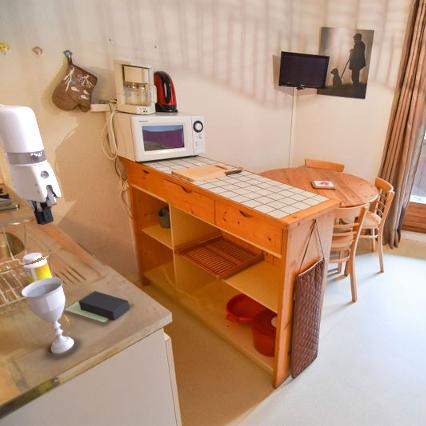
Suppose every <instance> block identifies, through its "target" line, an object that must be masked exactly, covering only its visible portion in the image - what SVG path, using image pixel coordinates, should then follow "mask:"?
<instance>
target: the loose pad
mask: <svg viewBox="0 0 426 426" xmlns="http://www.w3.org/2000/svg"><path fill="white" fill-rule="evenodd" d="M90 293H91V294H90ZM90 293H89V294H87V295H88V296H87V295H86V296H84V297H82V298H83V299H82V298H81V299H79V300H78V301H79V305H80V308H81V310H84V311H87V312H90V313H93V314H96V315H97V311H96V307H95V306H97V305H98V304H100V303H101V302H103V301H104V300H106V299H107V298H109V297H110V296H112V295H111V294H107V293H105V292H104V293H103V292H100V291H97V290H94V291H92V292H90Z"/></svg>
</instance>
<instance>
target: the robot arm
mask: <svg viewBox="0 0 426 426" xmlns="http://www.w3.org/2000/svg"><path fill="white" fill-rule="evenodd" d="M40 133H41V132H40V130H39V126H38V123H37V119H36V114H35V113H34V110H33V109H32V108H30V107H28V106H24V105H8V104H7V105H6V104H2V103H0V144H1V146H2V150H3V153H4V156H5V160H6V162H7V165H8V166H9V173H10V177H11V181H12V185H13V188H14V191H15V193H16V196H17V197H19V198H21V199H22V201H25V202H27V203H28V205H29V207H30V209H31V210H32V211H33V214H34V217H35V221H36V224H37V225H40V226H45V225H48V224H50V223H53V222H54V221H55V220H54V215H53V213H52V208H53V207H54V206H57V205H58V202H57V200H56V199H59V198H61V197H62V194H61V190H60V186H59V183H58V181H57V178H56V176H55V173H54V171H53V169H52V167H51V165H50V163H49V162H48V159H47V156H46V151H45V147H44V144H43V141H42V137H41V134H40Z"/></svg>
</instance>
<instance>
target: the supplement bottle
mask: <svg viewBox="0 0 426 426" xmlns="http://www.w3.org/2000/svg"><path fill="white" fill-rule="evenodd" d="M41 257H42V258H43V256H42V253H41V252H31V253H28V254H26V255H24V256H23V261H24V262H23V263H22V265H24V264H26V263H30V262H32V261H35V260H37V259H38V258H41ZM22 269H23V272H24V275H25V278H26V281H27V283H28V285H30V284H31V283H33V282H36V281H38V280H41V279H45V278H51V277H53V276H52V273H51V270H50V266H49V264H48V261H47V258H45V259H44V260H41V261H39V262H36V263H33V264H29V265H24V266H22Z"/></svg>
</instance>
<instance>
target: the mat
mask: <svg viewBox="0 0 426 426" xmlns="http://www.w3.org/2000/svg"><path fill="white" fill-rule="evenodd" d="M91 293H92V292H90V293H89V294H91ZM89 294H87V295H86V296H88V295H89ZM83 298H84V297H82V298H81V299H83ZM64 311H66V312H71V313H72V314H76V315H79V316H83V317H86V318H89V319H92V320H95V321H98V322H102V323H105V322H107V321H108V320H110V319H109V318H105V317H102V316H99V315H96V314H93V313H90V312H87V311H84V310H81V308H80V305H79V300H78V301H76V302H74V303H72V304H71V305H69V306H68V307H66V308H64Z"/></svg>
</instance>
